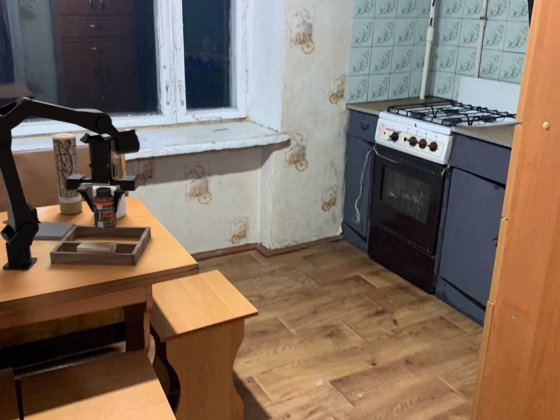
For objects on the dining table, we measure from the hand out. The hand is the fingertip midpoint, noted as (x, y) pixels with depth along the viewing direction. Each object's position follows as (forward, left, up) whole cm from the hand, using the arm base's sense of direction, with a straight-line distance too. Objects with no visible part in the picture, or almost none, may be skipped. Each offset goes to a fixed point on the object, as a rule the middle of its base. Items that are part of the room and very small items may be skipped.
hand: (104, 212), depth 164 cm
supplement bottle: (0, 0, -5) cm, 5 cm away
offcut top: (-9, 0, -7) cm, 12 cm away
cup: (+24, +5, -10) cm, 26 cm away
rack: (-3, 0, -10) cm, 10 cm away
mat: (+8, +19, -10) cm, 23 cm away
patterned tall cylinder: (+26, +18, -10) cm, 33 cm away
